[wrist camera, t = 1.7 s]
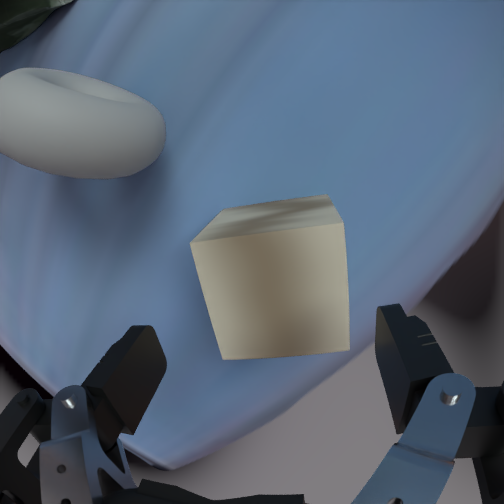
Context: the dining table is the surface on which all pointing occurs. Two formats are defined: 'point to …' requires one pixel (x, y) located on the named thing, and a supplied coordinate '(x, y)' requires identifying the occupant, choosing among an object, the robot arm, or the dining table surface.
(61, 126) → the donut
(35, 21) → the rose bouquet
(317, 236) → the birch cube
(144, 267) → the dining table surface
